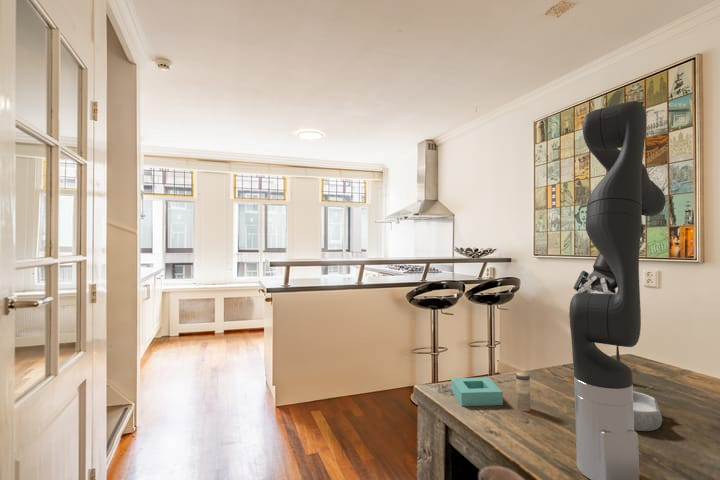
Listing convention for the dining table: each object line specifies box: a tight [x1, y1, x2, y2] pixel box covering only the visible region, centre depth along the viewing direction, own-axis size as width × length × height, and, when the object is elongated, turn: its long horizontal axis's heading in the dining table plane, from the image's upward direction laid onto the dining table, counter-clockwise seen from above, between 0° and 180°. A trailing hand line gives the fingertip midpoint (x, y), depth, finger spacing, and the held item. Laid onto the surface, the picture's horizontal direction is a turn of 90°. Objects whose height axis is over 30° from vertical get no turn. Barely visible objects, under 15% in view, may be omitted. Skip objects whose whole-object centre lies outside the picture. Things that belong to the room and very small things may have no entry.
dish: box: [633, 390, 663, 432], centre depth 91 cm, size 14×14×5 cm
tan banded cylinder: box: [515, 371, 532, 412], centre depth 98 cm, size 3×3×9 cm
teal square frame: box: [450, 376, 504, 407], centre depth 106 cm, size 11×11×4 cm
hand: (589, 311), depth 102 cm, fingers open, 8 cm apart
